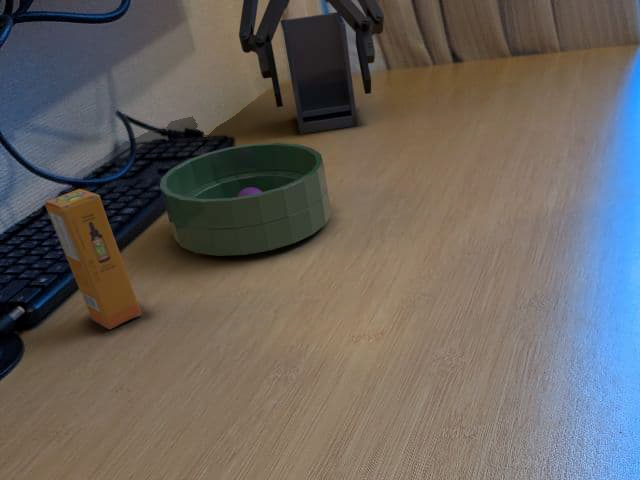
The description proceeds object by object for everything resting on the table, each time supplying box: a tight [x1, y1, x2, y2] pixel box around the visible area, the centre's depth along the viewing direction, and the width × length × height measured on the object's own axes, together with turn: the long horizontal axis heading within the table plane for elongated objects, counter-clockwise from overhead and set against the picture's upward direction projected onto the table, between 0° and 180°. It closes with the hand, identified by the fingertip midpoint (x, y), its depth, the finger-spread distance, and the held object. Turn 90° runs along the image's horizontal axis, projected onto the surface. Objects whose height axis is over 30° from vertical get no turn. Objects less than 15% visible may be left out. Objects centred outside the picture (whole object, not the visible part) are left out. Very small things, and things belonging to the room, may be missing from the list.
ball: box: [237, 187, 262, 197], centre depth 79 cm, size 3×3×3 cm
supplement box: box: [44, 188, 142, 330], centre depth 65 cm, size 3×3×10 cm
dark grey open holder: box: [279, 11, 359, 135], centre depth 101 cm, size 7×7×11 cm
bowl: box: [159, 142, 332, 257], centre depth 78 cm, size 15×15×6 cm
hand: (323, 93), depth 100 cm, fingers open, 10 cm apart
